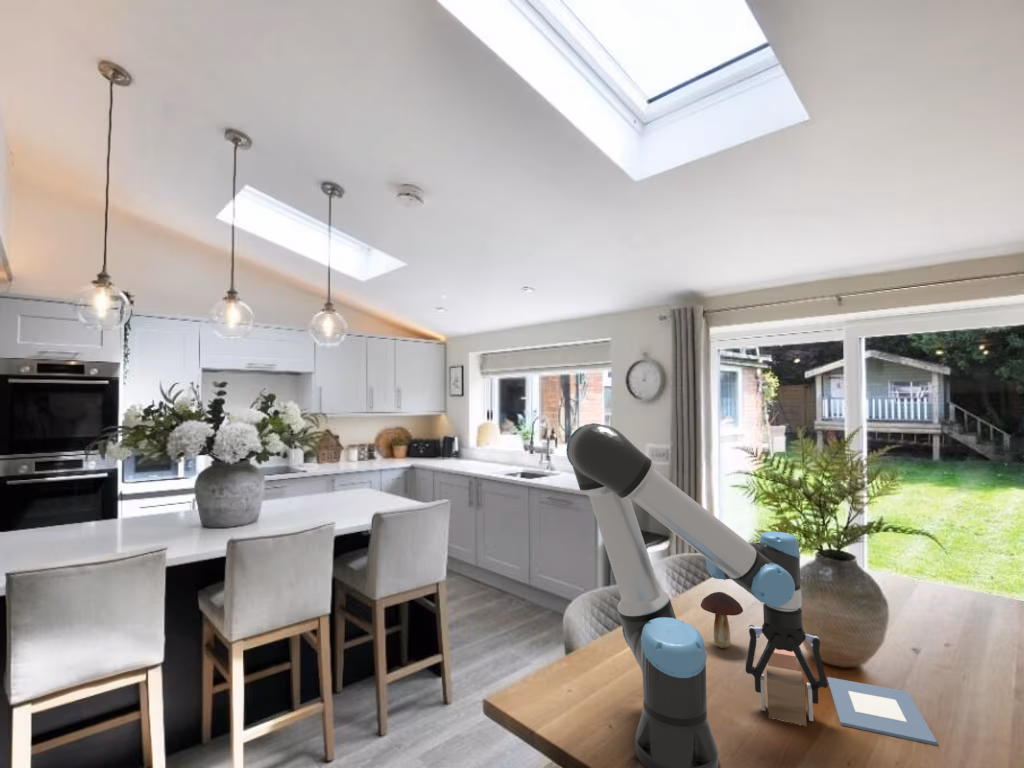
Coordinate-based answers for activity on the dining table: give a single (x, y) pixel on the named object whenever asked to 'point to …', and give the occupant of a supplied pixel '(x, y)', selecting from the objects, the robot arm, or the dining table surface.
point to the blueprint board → (879, 710)
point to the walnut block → (786, 695)
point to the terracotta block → (783, 659)
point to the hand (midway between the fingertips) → (786, 712)
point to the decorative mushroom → (721, 615)
